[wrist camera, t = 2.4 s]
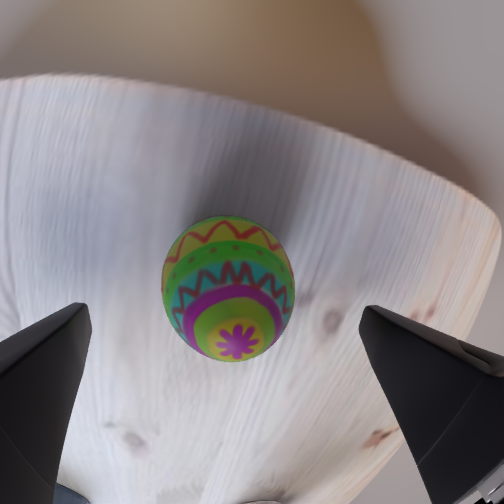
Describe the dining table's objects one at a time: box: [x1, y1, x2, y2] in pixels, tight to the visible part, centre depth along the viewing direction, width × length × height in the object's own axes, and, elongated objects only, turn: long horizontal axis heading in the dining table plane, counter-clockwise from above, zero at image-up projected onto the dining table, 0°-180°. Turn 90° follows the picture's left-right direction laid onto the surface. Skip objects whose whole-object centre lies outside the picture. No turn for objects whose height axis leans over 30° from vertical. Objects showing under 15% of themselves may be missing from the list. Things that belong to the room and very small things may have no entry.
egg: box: [161, 216, 295, 362], centre depth 11 cm, size 5×5×6 cm
